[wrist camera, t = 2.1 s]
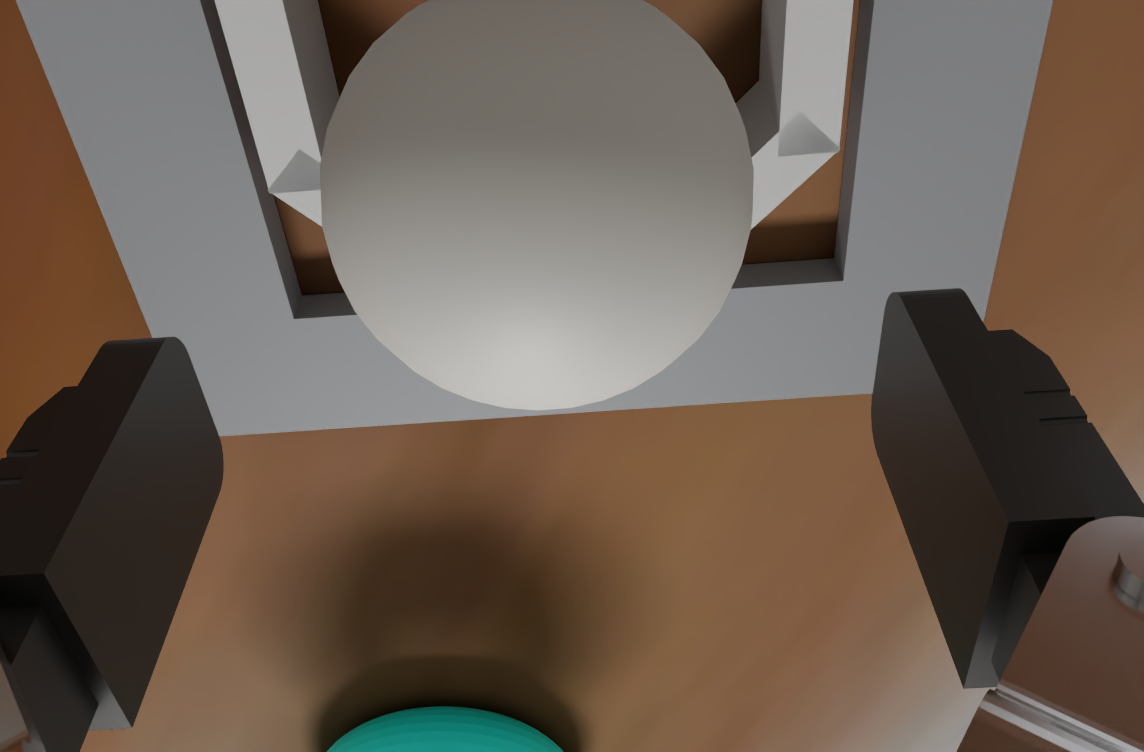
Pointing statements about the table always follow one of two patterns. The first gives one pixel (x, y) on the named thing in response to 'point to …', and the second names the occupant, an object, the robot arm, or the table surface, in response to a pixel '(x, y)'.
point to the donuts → (444, 733)
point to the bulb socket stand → (378, 377)
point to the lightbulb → (536, 196)
